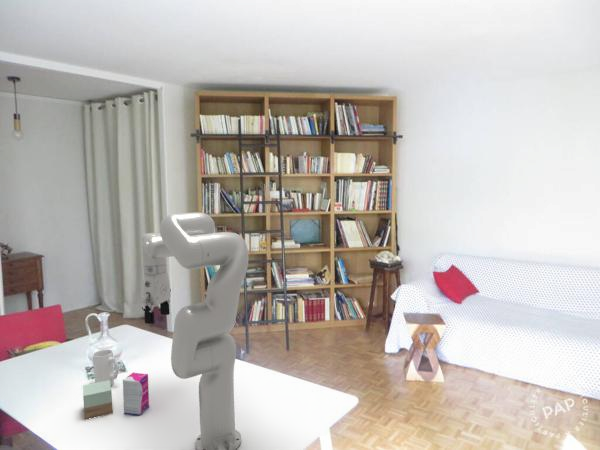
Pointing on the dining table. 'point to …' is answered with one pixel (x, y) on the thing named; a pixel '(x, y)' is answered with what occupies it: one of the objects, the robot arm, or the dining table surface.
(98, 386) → the sage top block
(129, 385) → the supplement box
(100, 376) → the mug
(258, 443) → the dining table surface
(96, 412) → the walnut base block
